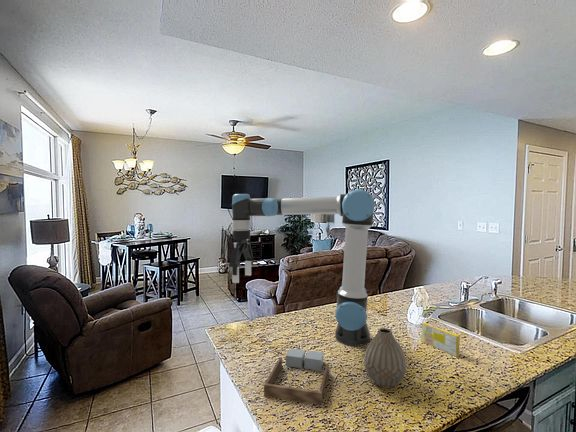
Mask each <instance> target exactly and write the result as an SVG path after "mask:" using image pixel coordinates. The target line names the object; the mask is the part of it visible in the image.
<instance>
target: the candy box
mask: <svg viewBox="0 0 576 432" xmlns="http://www.w3.org/2000/svg"><path fill="white" fill-rule="evenodd" d="M460 337H461V336H460V335H458V334H456V333H454V332H451V331H448V330H446V329H442V328H440V327H437V326H435V325H433V324H430V323H427V322H421V342H422V343H425V344H426V345H429V346H431V347H433V348H436V349H437V350H440V351H442V352H444V353H446V354H448V355H451V356H452V357H455V358H458V357H460V342H461V341H460Z"/></svg>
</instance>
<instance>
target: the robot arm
mask: <svg viewBox="0 0 576 432" xmlns="http://www.w3.org/2000/svg"><path fill="white" fill-rule="evenodd" d="M231 199H232V202H231V208H232V211H231V212H232V222H231V224H232V229H233V231H232V239H233V240H235V242H232V246H231V248H232V249H231V253H230V259H229V264H228V266H229V268H231V279H232V280H231V281H232V283H233V284H239V283H240V266H239V264H240V261H241V257H242V254H243V256H244V259H245V261H244V276H249V277H250V276H252V262H254V255H253V249H252V245H251V230H250V229H251V217H275V216H284V215H286V216H289V215H292V216H293V215H295V216H297V215H339V216H340V217H342V220H341V221H342V222H341V224H342V225H343V227H345V234H344V250H343V263H342V265H343V266H342V267H343V268H342V280H341V281H342V282H341V286H340V287H339V289H338V290H337V295H336V297H337V299H336V309H335V312H334V315H335V319H336V322H337V325H336V329H335V332H334V333H335V335H334V336H335V339H336V341H338V342H339V343H342V344H343V345H347V346H363V345H368V344H369V343H370V341H371V333H370V330H369V327H368V323H367V319H368V315H367V310H368V298H369V297H368V295H369V294H368V293H367V289H366V288H365V283H366V282H365V280H366V268H367V267H366V266H367V252H368V251H367V250H368V237H369V236H368V235H369V229H370V228H371V227H372V226H373V224H374V222H373V221H374V211H375V205H376V204H375V199H374V197H373V196H372V194H371V193H370V192H368V191H366V190H364V189H353V190H350V191H349V192H348V193H343V194H342V193H341V194H339V195H338V196H324V197H323V196H322V197H321V196H319V197H293V198H291V197H290V198H271V197H265V198H262V197H261V198H258V197H257V198H251V196H250V194H249V193H235V194H233V195H232V198H231Z"/></svg>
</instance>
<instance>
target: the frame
mask: <svg viewBox="0 0 576 432" xmlns="http://www.w3.org/2000/svg"><path fill="white" fill-rule="evenodd" d="M282 368H283V357H280V356H279V358H278V360H277V361H276V363H275V365H274V367H273V369H272V371H271V372H270V373H269V376H268V377H267V379H266V381H265V382H264V384H263V397H268V398H274V399H280V400H287V401H294V402H299V403H304V404H312V405H317V406H322V405H323V404H322V403H323V399H324V396H325V392H326V388H327V382H328V378H329V374H330V363H328V362H327V363H326V364H325V368H324V372H323V376H322V380H321V382H320V388H319V390H313V389H307V388H299V387H294V386H288V385H287V386H286V385H280V384H274V383H275V381H276V380H277V377H278V375H279V373H280V372H281V370H282Z"/></svg>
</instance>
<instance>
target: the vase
mask: <svg viewBox="0 0 576 432" xmlns="http://www.w3.org/2000/svg"><path fill="white" fill-rule="evenodd" d="M363 362H364V368H365V371H366V373H367V375H368V377H369V378H370V380H371V381H372V382H373V383H374V384H375V385H376V386H378V387H381V388H385V389H392V388H394V387H396V386H397V385H399V384H400V383H401V382H402V381H403V379H404V378H405V375H406V370H407V359H406V356H405V352H404V350H403V348H402V346H401V345H400V343H399V341H398V340H397V339H396V337H394V334H393V331H392V329H390V328H388V327H387V328H386V327H380V328H378V329H377V333H376V334H375V336H374V337H373V338H372V339H370V341H369V343H367V347H366V349H365V353H364V361H363Z"/></svg>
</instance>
